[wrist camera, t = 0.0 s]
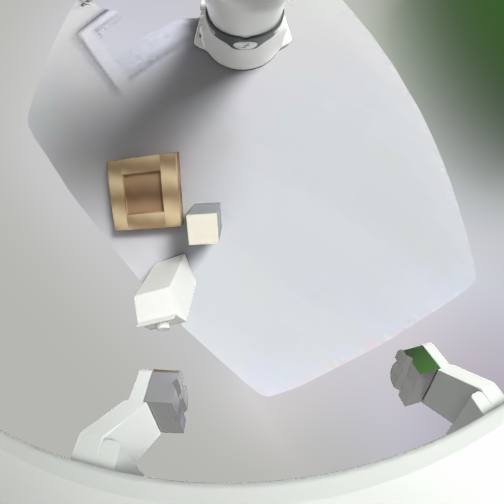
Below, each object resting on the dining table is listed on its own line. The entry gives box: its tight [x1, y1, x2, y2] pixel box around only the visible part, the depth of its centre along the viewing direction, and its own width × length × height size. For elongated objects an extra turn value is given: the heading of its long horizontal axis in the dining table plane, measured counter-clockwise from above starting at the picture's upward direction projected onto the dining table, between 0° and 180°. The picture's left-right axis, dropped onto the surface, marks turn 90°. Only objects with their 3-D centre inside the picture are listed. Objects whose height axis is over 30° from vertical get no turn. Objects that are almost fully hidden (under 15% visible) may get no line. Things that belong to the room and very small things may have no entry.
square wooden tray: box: [107, 152, 184, 231], centre depth 52 cm, size 14×14×3 cm
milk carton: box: [134, 254, 197, 331], centre depth 51 cm, size 7×7×19 cm
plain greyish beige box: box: [186, 203, 222, 245], centre depth 51 cm, size 5×5×10 cm
